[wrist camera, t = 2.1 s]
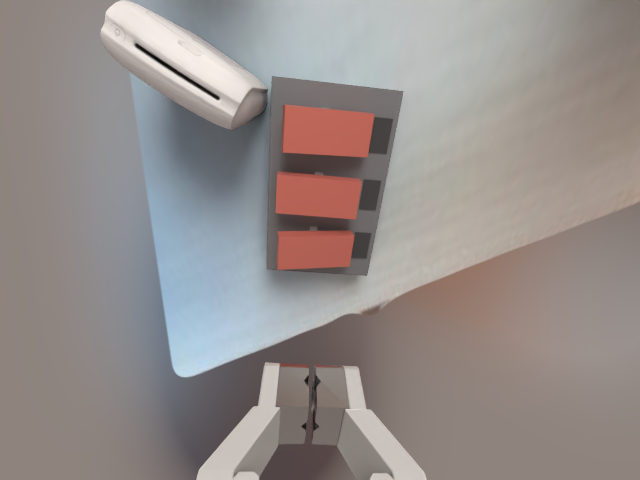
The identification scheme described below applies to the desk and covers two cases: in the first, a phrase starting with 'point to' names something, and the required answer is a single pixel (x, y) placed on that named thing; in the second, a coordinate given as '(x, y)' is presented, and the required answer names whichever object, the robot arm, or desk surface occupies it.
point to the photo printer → (182, 66)
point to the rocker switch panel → (334, 164)
